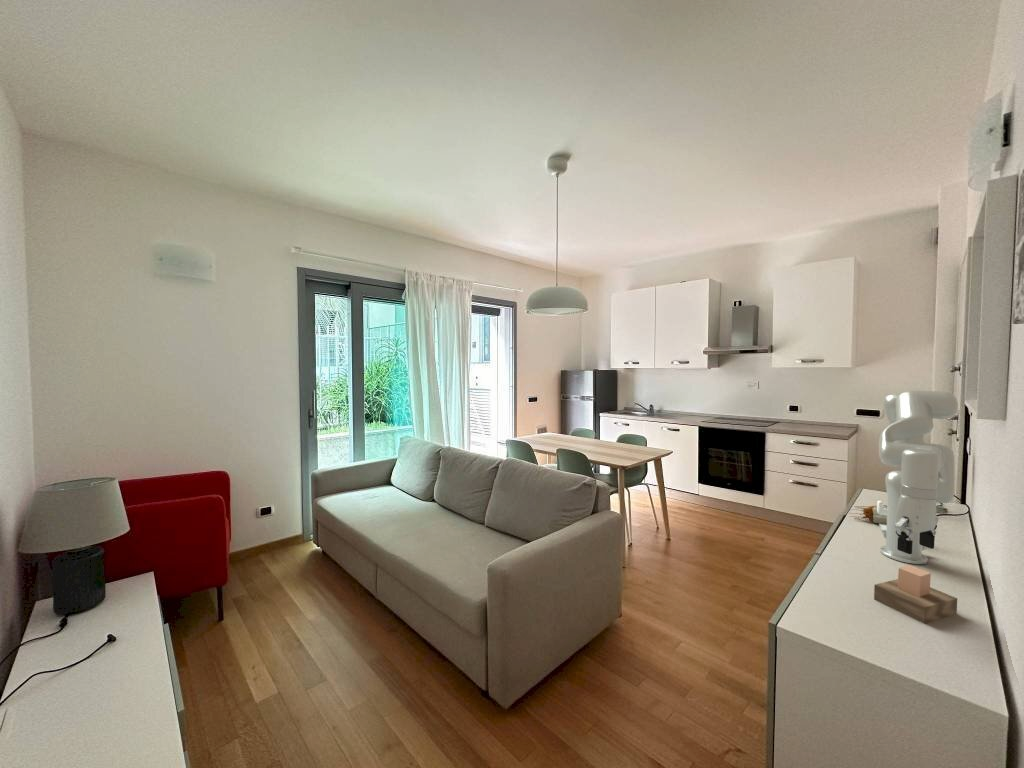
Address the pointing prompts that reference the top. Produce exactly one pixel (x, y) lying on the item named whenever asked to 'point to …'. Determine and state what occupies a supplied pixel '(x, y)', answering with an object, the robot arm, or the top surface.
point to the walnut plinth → (916, 602)
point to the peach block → (914, 580)
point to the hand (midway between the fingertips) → (915, 549)
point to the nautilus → (872, 514)
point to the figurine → (883, 512)
